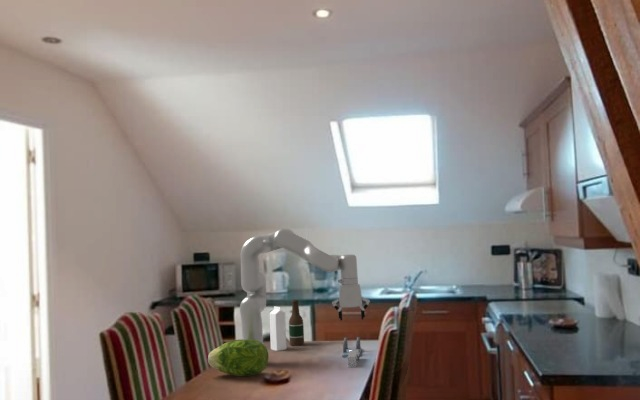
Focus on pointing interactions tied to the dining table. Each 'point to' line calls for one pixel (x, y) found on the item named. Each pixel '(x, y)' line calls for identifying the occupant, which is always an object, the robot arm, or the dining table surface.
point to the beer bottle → (296, 326)
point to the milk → (277, 329)
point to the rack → (346, 348)
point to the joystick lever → (353, 357)
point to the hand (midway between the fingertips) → (351, 319)
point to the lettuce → (239, 357)
